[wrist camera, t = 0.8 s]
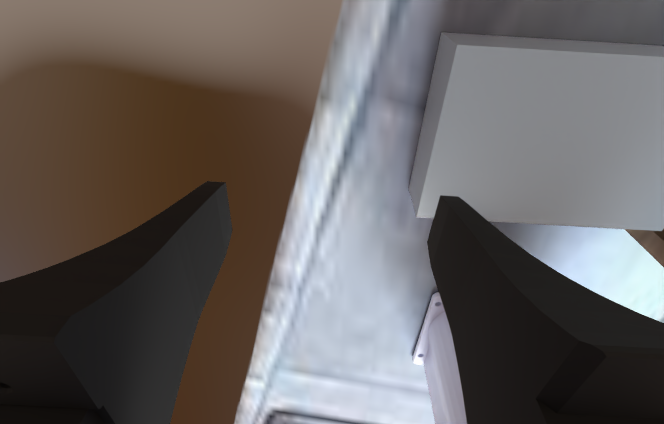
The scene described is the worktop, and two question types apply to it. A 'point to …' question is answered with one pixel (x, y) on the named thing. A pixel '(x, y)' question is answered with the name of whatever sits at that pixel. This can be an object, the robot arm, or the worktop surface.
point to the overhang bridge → (650, 242)
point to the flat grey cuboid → (544, 132)
